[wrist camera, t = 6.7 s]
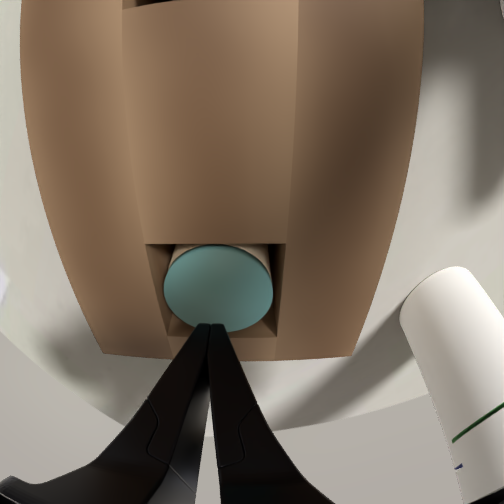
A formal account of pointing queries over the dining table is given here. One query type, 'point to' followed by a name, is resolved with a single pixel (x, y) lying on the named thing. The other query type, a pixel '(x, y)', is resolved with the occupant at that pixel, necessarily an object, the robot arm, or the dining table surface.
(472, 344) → the cylindrical container
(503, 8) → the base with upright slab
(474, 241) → the dining table surface
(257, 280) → the peg
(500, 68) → the dining table surface
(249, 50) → the socket block
